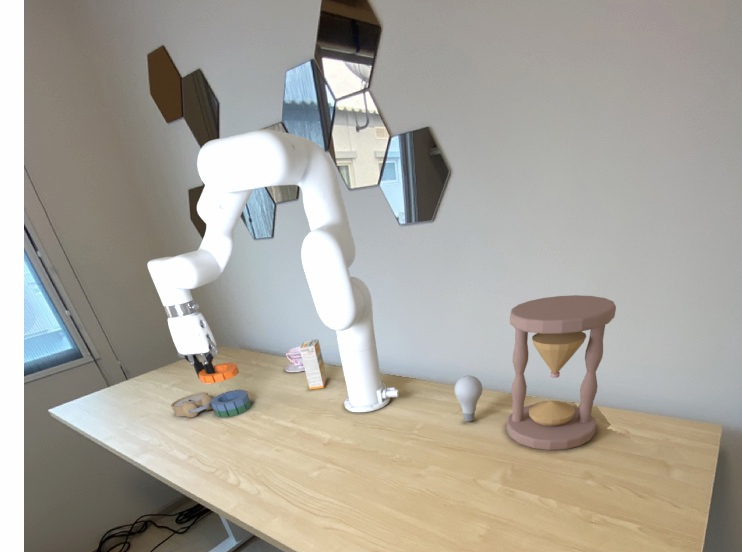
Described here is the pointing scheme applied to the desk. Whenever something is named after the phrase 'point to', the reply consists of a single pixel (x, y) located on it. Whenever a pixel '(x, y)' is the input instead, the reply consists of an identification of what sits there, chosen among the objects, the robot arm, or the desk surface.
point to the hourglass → (557, 367)
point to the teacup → (294, 360)
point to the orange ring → (219, 373)
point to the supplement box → (313, 364)
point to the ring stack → (231, 403)
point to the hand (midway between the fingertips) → (207, 376)
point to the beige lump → (192, 404)
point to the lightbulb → (468, 395)
